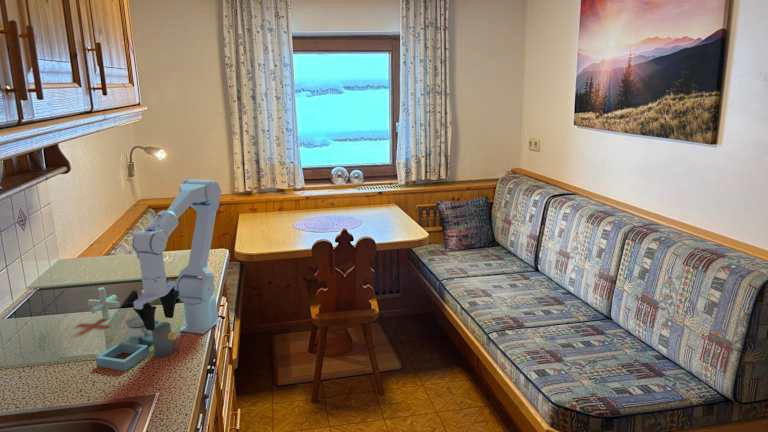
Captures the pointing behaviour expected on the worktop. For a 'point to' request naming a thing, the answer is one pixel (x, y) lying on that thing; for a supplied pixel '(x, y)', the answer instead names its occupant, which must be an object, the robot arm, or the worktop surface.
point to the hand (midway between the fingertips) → (160, 323)
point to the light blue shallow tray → (111, 362)
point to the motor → (138, 332)
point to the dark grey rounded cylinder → (163, 339)
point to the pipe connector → (103, 303)
